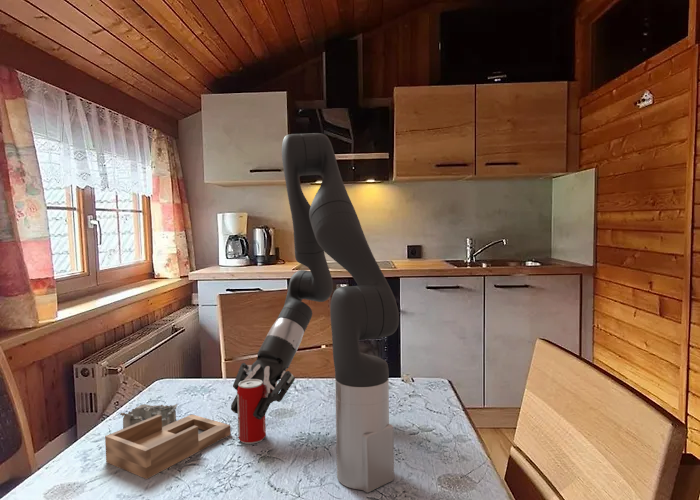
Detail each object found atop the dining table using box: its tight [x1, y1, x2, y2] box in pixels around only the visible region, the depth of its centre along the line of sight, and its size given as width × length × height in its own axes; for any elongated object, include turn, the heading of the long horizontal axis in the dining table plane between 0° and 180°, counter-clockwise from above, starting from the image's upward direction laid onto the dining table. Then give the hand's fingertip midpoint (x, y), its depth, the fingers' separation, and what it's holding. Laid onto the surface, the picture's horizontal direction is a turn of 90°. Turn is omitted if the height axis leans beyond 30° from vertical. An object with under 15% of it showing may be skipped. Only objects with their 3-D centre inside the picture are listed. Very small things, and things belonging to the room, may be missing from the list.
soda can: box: [236, 379, 267, 445], centre depth 96 cm, size 6×6×12 cm
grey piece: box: [119, 403, 178, 429], centre depth 104 cm, size 11×8×4 cm
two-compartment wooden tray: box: [104, 414, 232, 480], centre depth 93 cm, size 12×20×5 cm, turn 149°
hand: (245, 414), depth 94 cm, fingers closed on soda can, 5 cm apart
